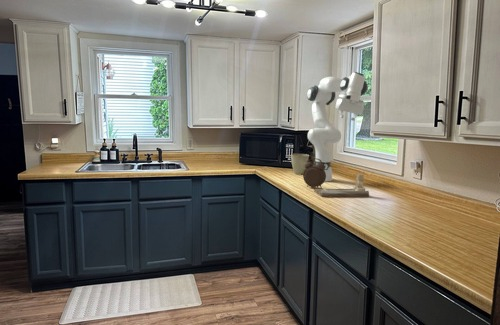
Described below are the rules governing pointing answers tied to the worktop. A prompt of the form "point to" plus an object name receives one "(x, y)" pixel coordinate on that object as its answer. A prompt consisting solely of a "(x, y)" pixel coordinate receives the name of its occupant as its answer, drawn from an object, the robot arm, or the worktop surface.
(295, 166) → the plant pot
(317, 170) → the alarm clock
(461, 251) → the worktop surface
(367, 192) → the walnut board
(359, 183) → the stacked beige blocks
